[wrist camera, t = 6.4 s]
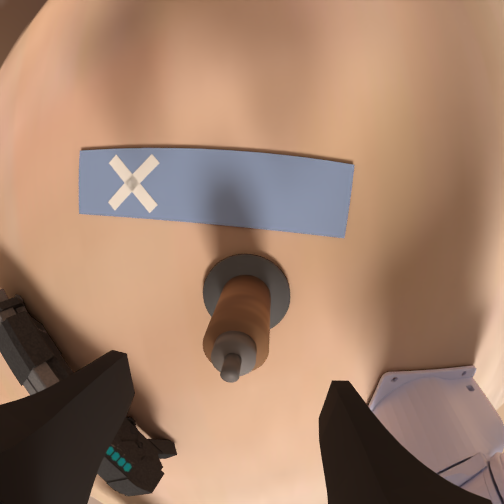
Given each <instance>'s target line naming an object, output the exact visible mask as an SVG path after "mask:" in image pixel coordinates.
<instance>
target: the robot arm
mask: <svg viewBox="0 0 504 504" xmlns="http://www.w3.org/2000/svg"><path fill="white" fill-rule="evenodd" d="M475 372H476V368H475V366H474V365H472V366H464V367H455V368H444V369H433V370H418V371H398V372H386V373H384V374H383V375H382V377H381V379H380V381H379V384H378V386H377V388H376V390H375V393H374V395H373V397H372V399H371V401H370V403H369V406H367V404H366V403H365V402H364V400H363V399H362V398H361V396H360V395H359V394H358V392H357V391H356V390H355V388H354V387H353V386H352V384H351V383H350V382H349V381H332V382H331V385H330V388H329V391H328V394H327V397H326V400H325V402H324V405H323V408H322V411H321V414H320V416H319V443H320V449H321V456H322V462H323V468H324V475H325V481H326V488H327V496H328V504H504V453H502V451H503V448H504V425H503V422H502V420H501V418H500V416H499V414H498V413H497V411H496V410H495V408H494V407H493V406H492V404H491V403H490V401H489V400H488V398H487V397H486V395H485V394H484V393H483V391H482V390H481V388H480V387H479V386H478V384H477V383H476V381H475V380H474V379H473V376H474V374H475ZM394 377H395V378H394ZM392 378H394V379H392ZM134 394H135V392H134V388H133V383H132V378H131V373H130V368H129V363H128V358H127V354H126V353H122V352H118V351H114V350H112V351H110V352H108V353H106V354H105V355H103V356H101V357H100V358H98V359H96V360H95V361H93V362H92V363H90V364H88V365H87V366H85V367H84V368H82V369H80V370H79V371H77V372H75V373H74V374H72V375H70V376H68V377H67V378H65V379H63V380H61V381H59V382H57V383H55V384H54V385H52V386H50V387H48V388H46V389H44V390H42V391H39V392H37V393H35V394H32V395H30V396H27V397H25V398H22V399H19V400H16V401H12V402H9V403H5V404H2V405H0V504H87V503H88V500H89V496H90V493H91V490H92V486H93V483H94V480H95V478H96V475H97V472H98V469H99V467H100V464H101V462H102V460H103V458H104V456H105V454H106V452H107V450H108V448H109V447H110V445H111V443H112V441H113V439H114V437H115V436H116V434H117V432H118V430H119V428H120V426H121V425H122V423H123V421H124V419H125V417H126V415H127V413H128V410H129V407H130V405H131V402H132V399H133V397H134Z"/></svg>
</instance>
